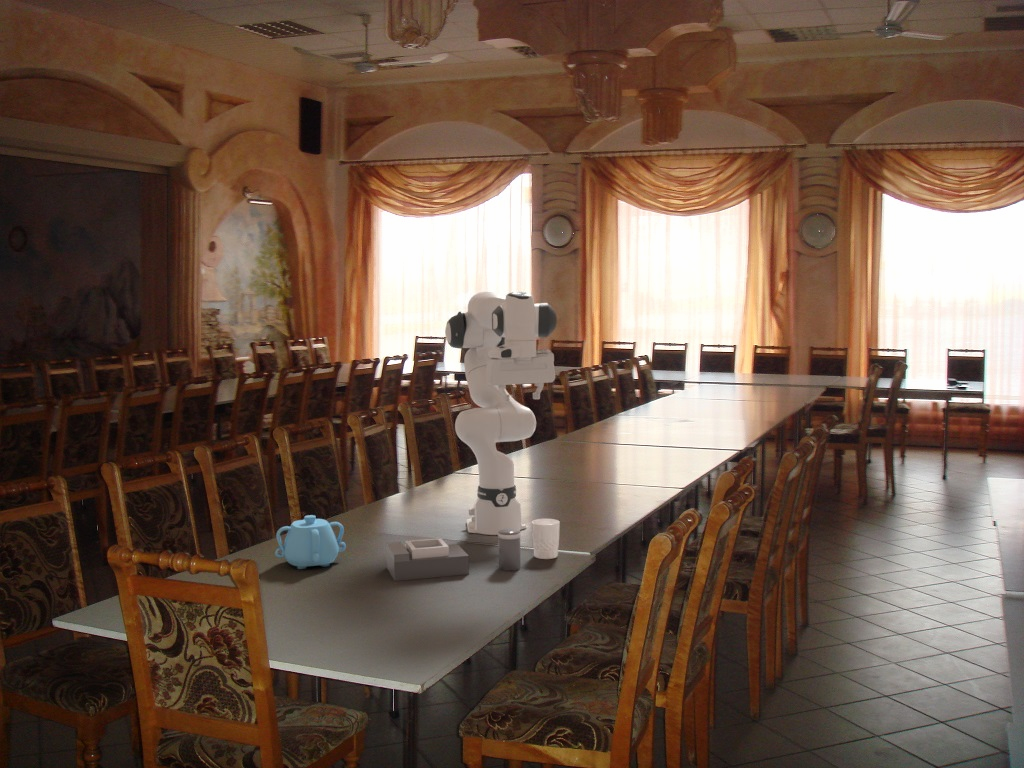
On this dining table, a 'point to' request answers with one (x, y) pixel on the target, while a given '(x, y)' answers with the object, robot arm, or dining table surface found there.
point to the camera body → (425, 559)
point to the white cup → (545, 538)
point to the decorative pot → (310, 542)
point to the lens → (509, 549)
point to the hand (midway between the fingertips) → (521, 400)
